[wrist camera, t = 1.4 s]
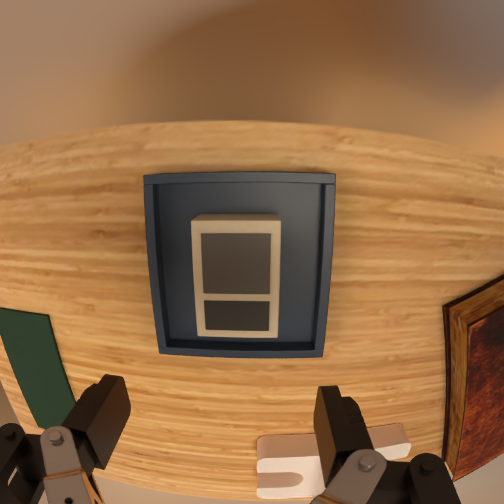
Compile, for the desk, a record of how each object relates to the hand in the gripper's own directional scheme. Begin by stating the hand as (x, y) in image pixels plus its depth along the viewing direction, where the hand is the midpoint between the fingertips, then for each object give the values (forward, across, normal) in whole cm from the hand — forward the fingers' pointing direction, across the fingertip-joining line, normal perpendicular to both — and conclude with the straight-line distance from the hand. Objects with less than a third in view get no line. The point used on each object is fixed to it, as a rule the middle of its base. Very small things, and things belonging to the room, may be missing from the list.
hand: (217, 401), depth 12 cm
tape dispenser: (+16, -11, +24) cm, 31 cm away
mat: (+16, +26, +15) cm, 34 cm away
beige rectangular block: (+15, 0, -1) cm, 15 cm away
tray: (+16, 0, -1) cm, 16 cm away
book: (+16, -37, +13) cm, 42 cm away
